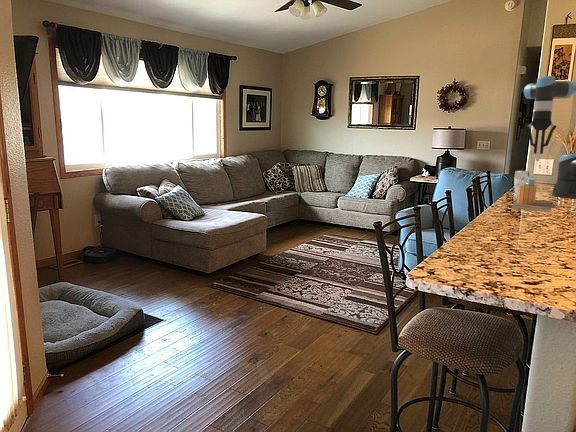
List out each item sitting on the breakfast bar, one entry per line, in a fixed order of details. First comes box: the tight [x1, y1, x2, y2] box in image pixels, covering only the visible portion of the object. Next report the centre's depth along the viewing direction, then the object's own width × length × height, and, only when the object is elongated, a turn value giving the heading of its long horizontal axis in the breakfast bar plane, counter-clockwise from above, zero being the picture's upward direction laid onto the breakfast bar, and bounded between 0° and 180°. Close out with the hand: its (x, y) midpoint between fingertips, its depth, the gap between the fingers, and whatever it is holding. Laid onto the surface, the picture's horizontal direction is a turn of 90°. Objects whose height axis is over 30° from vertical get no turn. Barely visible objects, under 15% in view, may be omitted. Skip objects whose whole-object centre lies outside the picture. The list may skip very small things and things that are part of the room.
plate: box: [510, 199, 553, 213], centre depth 220 cm, size 30×16×2 cm, turn 149°
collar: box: [517, 184, 537, 205], centre depth 223 cm, size 8×8×9 cm
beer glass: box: [513, 170, 530, 200], centre depth 240 cm, size 7×7×15 cm
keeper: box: [525, 175, 536, 185], centre depth 224 cm, size 14×3×2 cm, turn 158°
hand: (537, 160), depth 219 cm, fingers closed
